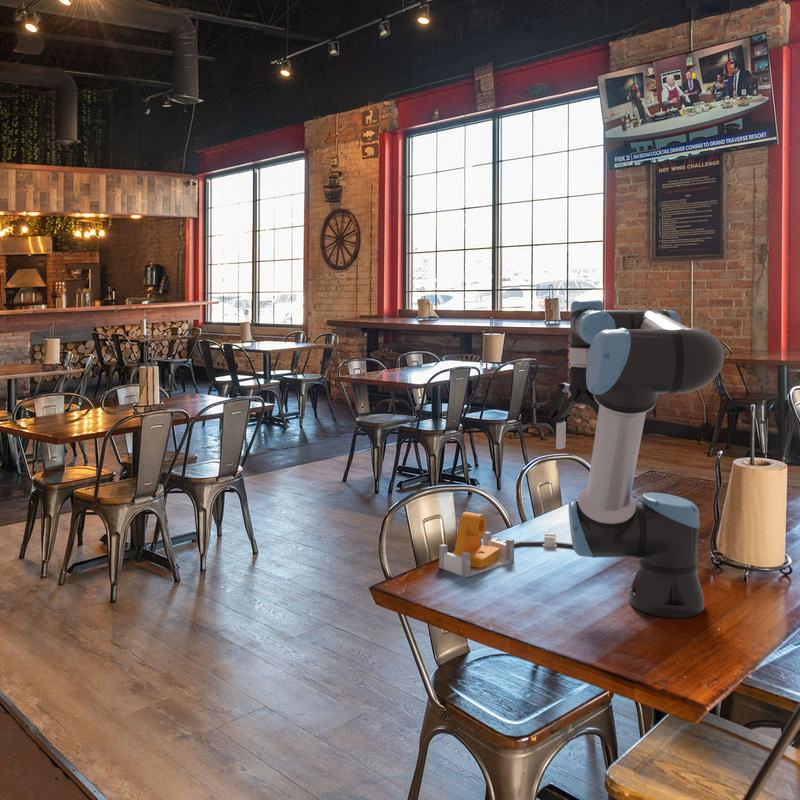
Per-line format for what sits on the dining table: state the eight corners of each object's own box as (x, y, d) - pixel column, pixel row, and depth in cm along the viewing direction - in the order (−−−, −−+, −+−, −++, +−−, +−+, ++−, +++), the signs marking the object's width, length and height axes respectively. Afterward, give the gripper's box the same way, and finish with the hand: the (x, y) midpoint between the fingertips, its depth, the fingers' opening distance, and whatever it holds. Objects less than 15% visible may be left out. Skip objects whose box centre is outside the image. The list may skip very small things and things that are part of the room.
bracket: (481, 571, 197) (481, 521, 195) (453, 566, 201) (453, 517, 199) (500, 558, 206) (500, 510, 204) (473, 553, 210) (474, 506, 208)
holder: (514, 561, 205) (514, 539, 204) (465, 577, 195) (466, 554, 194) (487, 552, 212) (487, 531, 211) (439, 567, 201) (439, 545, 201)
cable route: (577, 548, 215) (577, 538, 215) (490, 553, 211) (490, 543, 211) (568, 540, 221) (568, 531, 221) (484, 546, 217) (484, 536, 217)
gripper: (639, 368, 193) (636, 458, 196) (554, 360, 212) (552, 443, 215) (620, 370, 188) (617, 463, 191) (534, 362, 207) (533, 447, 210)
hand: (583, 452), depth 203 cm, fingers open, 13 cm apart
